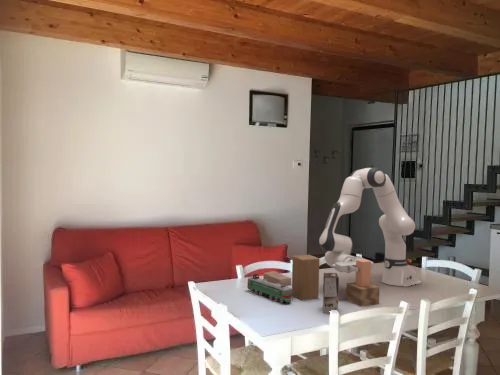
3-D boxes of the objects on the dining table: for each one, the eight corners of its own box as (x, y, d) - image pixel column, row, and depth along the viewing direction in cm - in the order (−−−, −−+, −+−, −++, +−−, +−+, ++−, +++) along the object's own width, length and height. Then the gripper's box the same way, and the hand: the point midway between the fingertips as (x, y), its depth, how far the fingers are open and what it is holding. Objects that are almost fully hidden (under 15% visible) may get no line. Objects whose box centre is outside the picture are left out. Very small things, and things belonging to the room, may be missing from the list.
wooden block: (291, 294, 218) (292, 255, 217) (308, 292, 222) (309, 254, 221) (300, 300, 209) (301, 259, 208) (318, 298, 212) (319, 258, 212)
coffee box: (338, 313, 190) (339, 277, 190) (323, 313, 191) (324, 277, 190) (336, 307, 199) (337, 272, 199) (322, 306, 200) (323, 272, 199)
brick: (292, 285, 237) (292, 276, 236) (279, 287, 232) (280, 278, 232) (274, 278, 250) (274, 270, 250) (262, 280, 246) (262, 272, 246)
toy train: (252, 289, 227) (252, 270, 227) (294, 304, 203) (295, 283, 203) (245, 290, 224) (245, 271, 224) (287, 306, 200) (287, 284, 200)
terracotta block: (363, 283, 211) (364, 259, 211) (370, 286, 207) (371, 261, 206) (355, 284, 209) (356, 260, 209) (361, 287, 205) (362, 262, 204)
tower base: (364, 297, 216) (364, 281, 215) (379, 303, 206) (379, 287, 205) (346, 299, 211) (346, 283, 211) (360, 306, 201) (360, 289, 201)
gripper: (330, 259, 215) (346, 264, 203) (363, 256, 224) (381, 261, 211) (329, 271, 216) (346, 278, 203) (362, 268, 224) (380, 274, 211)
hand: (364, 269), depth 207 cm, fingers open, 5 cm apart
